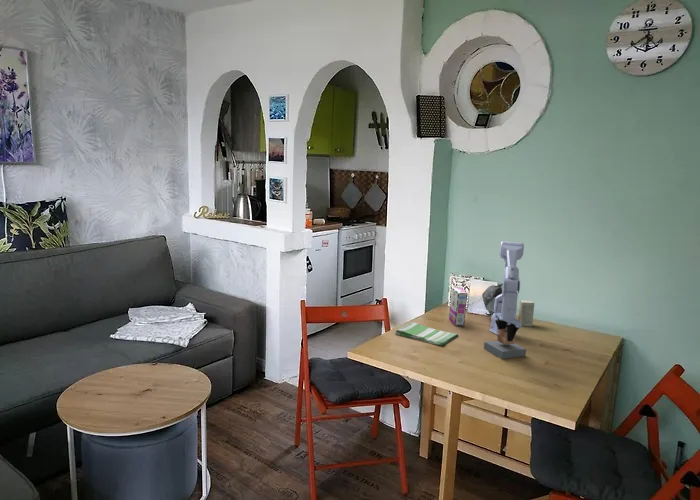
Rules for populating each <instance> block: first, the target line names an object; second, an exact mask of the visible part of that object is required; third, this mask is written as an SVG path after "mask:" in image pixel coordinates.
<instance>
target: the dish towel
mask: <svg viewBox="0 0 700 500" xmlns="http://www.w3.org/2000/svg"><path fill="white" fill-rule="evenodd" d="M395 335H398V336H401V337H405V338H409V339H413V340H417V341H421V342H424V343H427V344H428V343H429V344H430V345H431V344H432V345H435V346H441V347H443V346H445V345H446V344H448V343H449V342H450V341H452V340H453V339H455V338H458V337H459V334H458V333H456V332H448V331H444V330H440V329H435V328H433V327H430V326H426V325H421V324H420V323H416V322H414V321H412V322H410V323H408V324H406V325H404V326H402V327H400V328H398V329H396V330H395Z"/></svg>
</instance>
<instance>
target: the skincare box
mask: <svg viewBox="0 0 700 500" xmlns="http://www.w3.org/2000/svg"><path fill="white" fill-rule="evenodd" d="M534 311H535V302H534V301H533V300H526V299H525V300H524V299H522V300H519V309H518V319H517V320H518V321H519V322H521V323H522V324H521V327H533V321H534Z"/></svg>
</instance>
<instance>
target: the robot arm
mask: <svg viewBox="0 0 700 500" xmlns="http://www.w3.org/2000/svg"><path fill="white" fill-rule="evenodd" d="M524 251H525V244H524V243H523V242H517V241H515V242H513V241H504V240H502V241H501V242H500V249H499V256H500V258H501V259H503V261H504V270H503V277H502V278H503V279H502V284H503V285H502V288H501V289H502V294H500V295H498V296H497V297H496V298H495V304H494V314H493V315H492V317H491V316H490V317H491V320H490V326H489V327H490V328H488V331H489V332H491V333H494V334H495V335H497V336H498V329H507V339H508V341H513V338H514V336H515V334H517V331H518V330H519V329H521V328H522V326H521V324H522V323H521V322H519V321H518V319H517V318H516V315H517V310H518V309H517V308H518V307H517V306H518V297H519V295H518V294H520V291H521V281H520V276H519V275H520V272H519V271H520V269H519V267H517V261H520V260H522V257H523V255H524ZM515 337H516V336H515Z"/></svg>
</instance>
